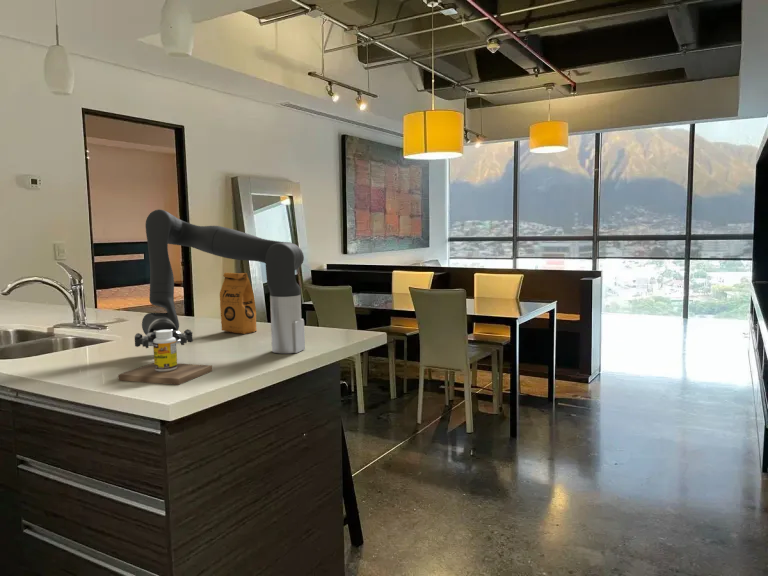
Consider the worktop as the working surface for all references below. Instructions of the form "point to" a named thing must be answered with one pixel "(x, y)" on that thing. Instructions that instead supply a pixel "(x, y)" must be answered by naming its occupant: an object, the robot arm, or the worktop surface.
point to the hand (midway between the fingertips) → (165, 342)
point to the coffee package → (237, 304)
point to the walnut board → (165, 374)
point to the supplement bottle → (165, 351)
